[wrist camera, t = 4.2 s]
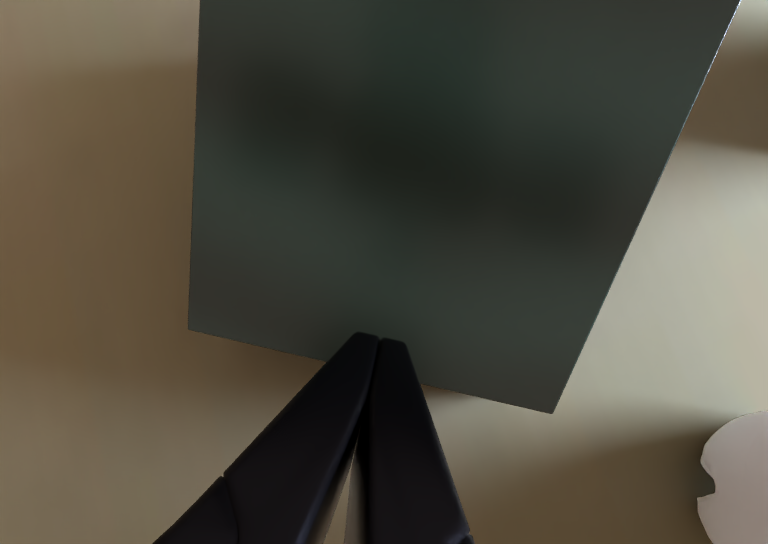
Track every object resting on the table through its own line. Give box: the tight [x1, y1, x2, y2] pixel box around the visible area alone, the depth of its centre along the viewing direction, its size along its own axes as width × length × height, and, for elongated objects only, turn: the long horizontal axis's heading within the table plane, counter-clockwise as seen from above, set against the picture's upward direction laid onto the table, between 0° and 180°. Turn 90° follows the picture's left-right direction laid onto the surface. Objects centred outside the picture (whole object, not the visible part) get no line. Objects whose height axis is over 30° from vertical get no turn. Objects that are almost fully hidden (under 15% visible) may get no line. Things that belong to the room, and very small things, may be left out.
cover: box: [188, 0, 741, 414], centre depth 13 cm, size 14×11×1 cm
